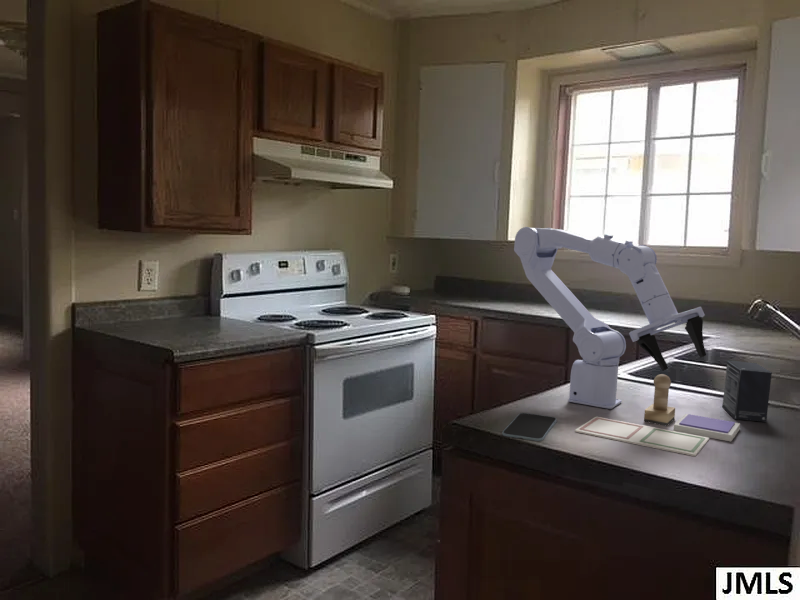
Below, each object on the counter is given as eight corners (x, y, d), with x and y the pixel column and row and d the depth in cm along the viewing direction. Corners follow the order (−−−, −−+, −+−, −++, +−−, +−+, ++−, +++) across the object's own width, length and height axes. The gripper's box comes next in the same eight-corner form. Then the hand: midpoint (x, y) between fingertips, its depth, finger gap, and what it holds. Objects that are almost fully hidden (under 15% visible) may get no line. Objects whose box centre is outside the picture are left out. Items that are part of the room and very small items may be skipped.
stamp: (643, 421, 136) (647, 375, 135) (651, 415, 141) (655, 370, 140) (667, 426, 134) (670, 378, 133) (674, 419, 139) (678, 373, 138)
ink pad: (673, 430, 130) (674, 423, 130) (684, 419, 138) (685, 412, 138) (731, 441, 125) (731, 433, 125) (739, 429, 133) (740, 422, 132)
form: (574, 431, 128) (574, 429, 127) (595, 417, 137) (596, 415, 137) (695, 456, 116) (695, 454, 116) (709, 439, 126) (709, 437, 126)
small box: (769, 423, 138) (774, 371, 137) (734, 420, 140) (738, 369, 138) (753, 409, 149) (757, 361, 147) (721, 406, 150) (725, 359, 149)
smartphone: (500, 433, 124) (520, 412, 137) (500, 438, 124) (520, 416, 138) (541, 439, 121) (557, 417, 135) (541, 444, 121) (557, 422, 135)
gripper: (623, 307, 135) (652, 372, 131) (695, 282, 134) (726, 346, 130) (618, 315, 142) (645, 377, 138) (686, 291, 141) (715, 353, 137)
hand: (684, 363), depth 135 cm, fingers open, 7 cm apart
